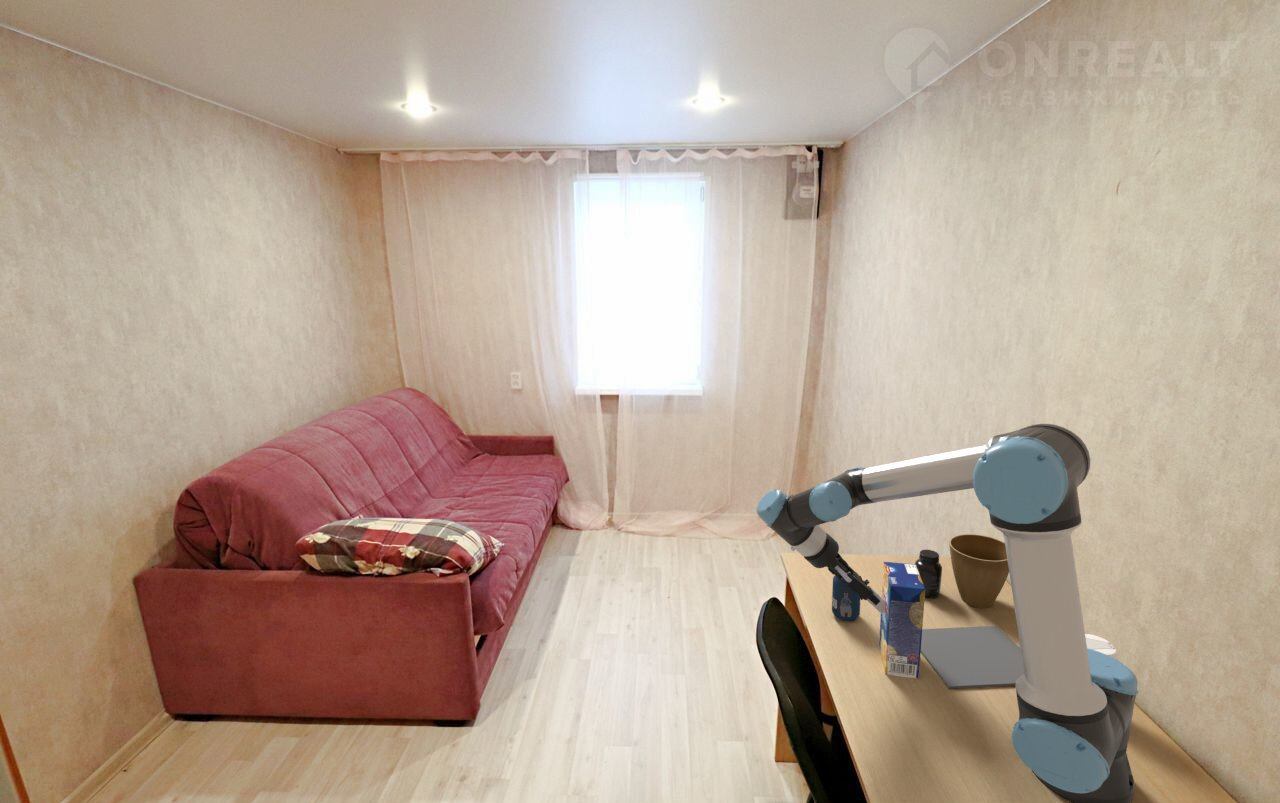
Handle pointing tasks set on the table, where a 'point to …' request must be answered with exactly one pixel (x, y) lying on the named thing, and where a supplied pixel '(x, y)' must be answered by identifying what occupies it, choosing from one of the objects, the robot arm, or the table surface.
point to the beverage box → (901, 619)
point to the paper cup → (1101, 645)
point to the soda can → (844, 601)
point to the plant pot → (978, 568)
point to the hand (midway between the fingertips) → (884, 608)
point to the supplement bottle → (930, 572)
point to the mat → (972, 656)
